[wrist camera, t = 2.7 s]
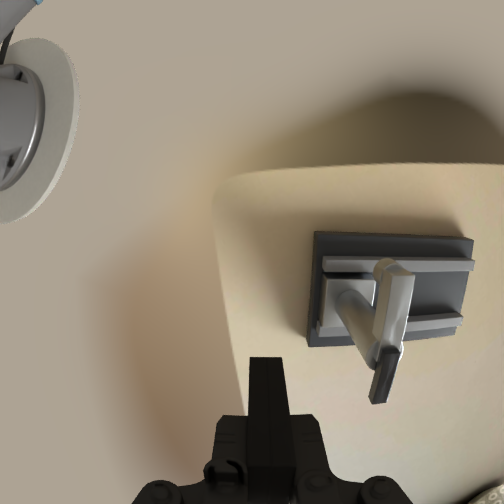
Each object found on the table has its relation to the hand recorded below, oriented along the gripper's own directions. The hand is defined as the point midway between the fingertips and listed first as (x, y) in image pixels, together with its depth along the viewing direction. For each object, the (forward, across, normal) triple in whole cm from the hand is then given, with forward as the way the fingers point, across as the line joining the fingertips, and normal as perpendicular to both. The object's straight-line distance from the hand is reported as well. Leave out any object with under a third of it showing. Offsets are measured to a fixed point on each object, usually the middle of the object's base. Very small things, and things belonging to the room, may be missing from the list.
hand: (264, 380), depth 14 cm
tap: (+11, +7, +1) cm, 13 cm away
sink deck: (+13, +12, 0) cm, 18 cm away
